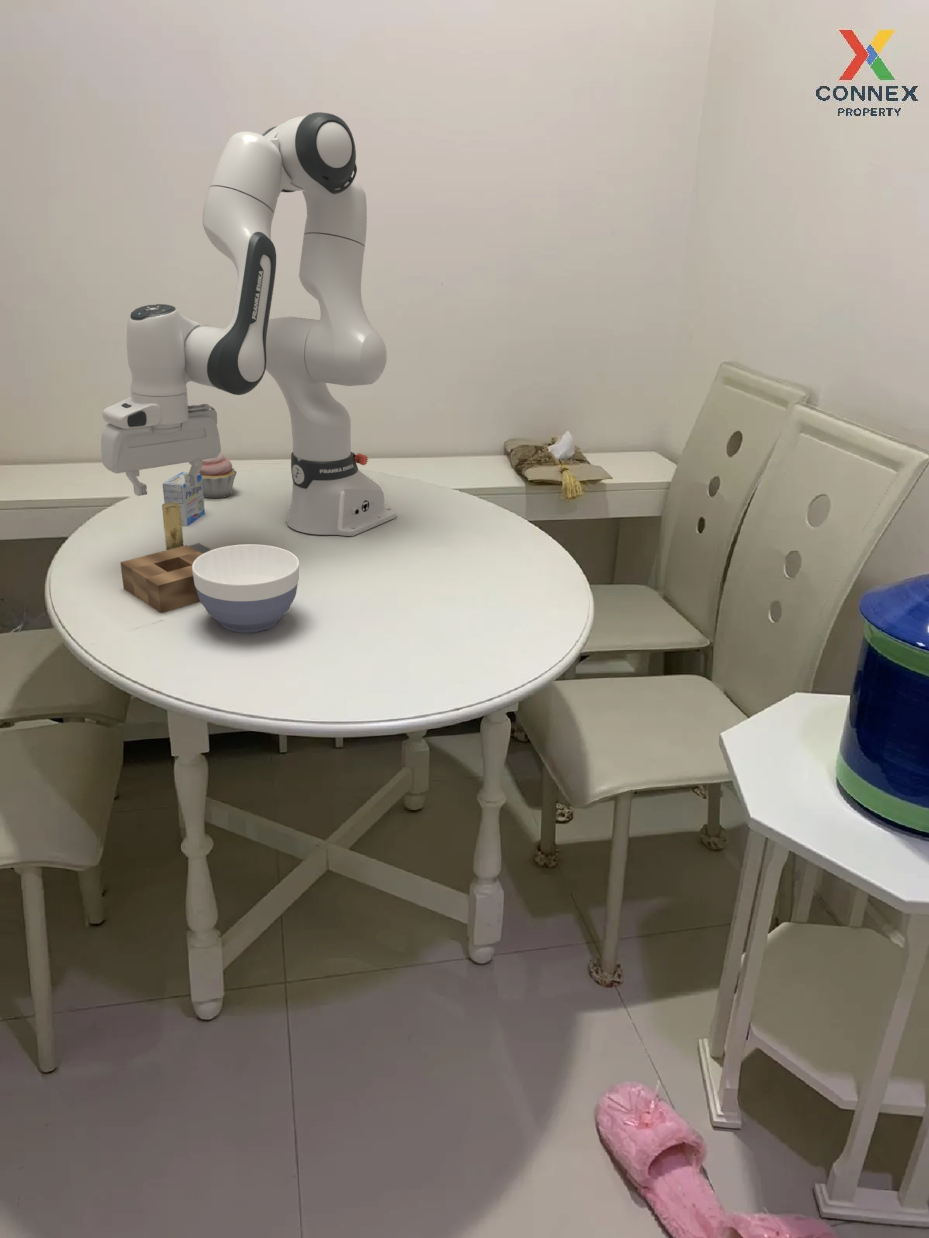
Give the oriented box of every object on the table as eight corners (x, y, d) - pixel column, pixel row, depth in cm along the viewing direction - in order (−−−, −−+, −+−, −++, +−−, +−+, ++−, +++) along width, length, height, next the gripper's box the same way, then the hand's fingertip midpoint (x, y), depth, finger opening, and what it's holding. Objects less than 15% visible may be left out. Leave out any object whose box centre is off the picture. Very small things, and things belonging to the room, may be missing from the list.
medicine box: (187, 528, 179) (183, 485, 175) (165, 525, 179) (161, 482, 175) (205, 514, 186) (202, 473, 182) (185, 512, 186) (181, 470, 182)
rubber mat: (199, 544, 171) (198, 543, 171) (222, 557, 166) (222, 555, 166) (149, 557, 165) (149, 555, 164) (172, 571, 160) (172, 569, 160)
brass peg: (179, 554, 166) (174, 501, 161) (188, 559, 164) (183, 505, 160) (163, 558, 164) (158, 504, 159) (172, 563, 162) (167, 509, 158)
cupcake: (193, 487, 200) (189, 442, 196) (237, 486, 202) (235, 441, 198) (192, 501, 192) (188, 455, 188) (238, 500, 194) (236, 454, 190)
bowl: (213, 595, 152) (209, 541, 148) (309, 601, 152) (308, 547, 147) (183, 639, 138) (177, 581, 133) (289, 646, 137) (287, 587, 133)
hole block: (189, 572, 160) (186, 545, 158) (227, 594, 152) (225, 566, 150) (123, 590, 152) (120, 562, 150) (161, 614, 145) (158, 585, 142)
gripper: (206, 399, 161) (210, 476, 167) (92, 411, 147) (101, 495, 153) (225, 406, 157) (229, 484, 163) (111, 419, 143) (119, 504, 149)
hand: (166, 490), depth 158 cm, fingers open, 8 cm apart
